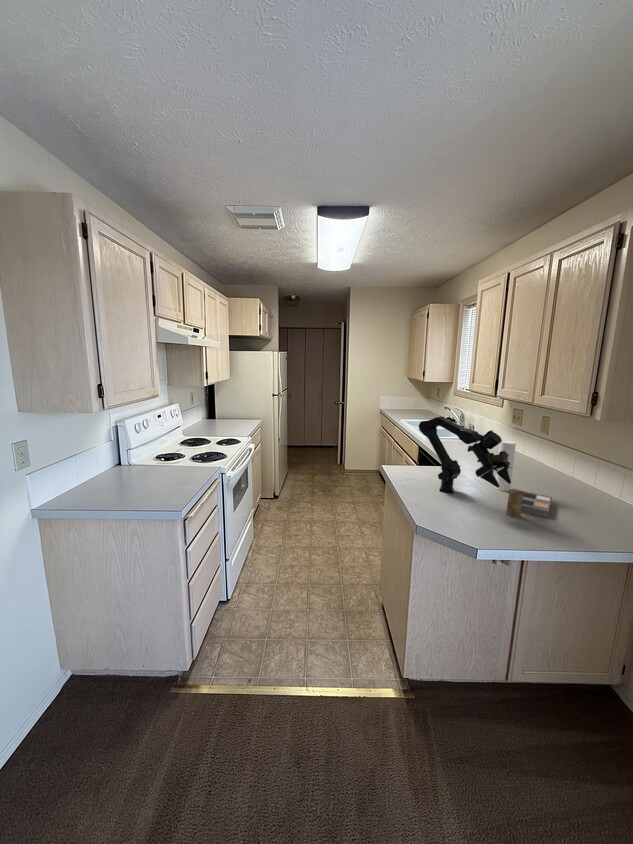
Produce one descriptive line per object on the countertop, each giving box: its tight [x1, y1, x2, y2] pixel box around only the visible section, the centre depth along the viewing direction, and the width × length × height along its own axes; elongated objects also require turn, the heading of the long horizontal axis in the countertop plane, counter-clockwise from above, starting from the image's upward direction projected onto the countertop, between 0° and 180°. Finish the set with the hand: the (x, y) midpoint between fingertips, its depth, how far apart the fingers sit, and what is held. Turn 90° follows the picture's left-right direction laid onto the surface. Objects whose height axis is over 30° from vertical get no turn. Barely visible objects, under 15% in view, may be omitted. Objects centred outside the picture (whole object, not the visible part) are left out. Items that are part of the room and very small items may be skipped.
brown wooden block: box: [506, 488, 524, 519], centre depth 148 cm, size 4×4×11 cm
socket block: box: [521, 490, 553, 519], centre depth 159 cm, size 14×20×3 cm
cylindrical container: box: [494, 439, 517, 492], centre depth 178 cm, size 7×7×25 cm
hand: (504, 485), depth 151 cm, fingers open, 9 cm apart
